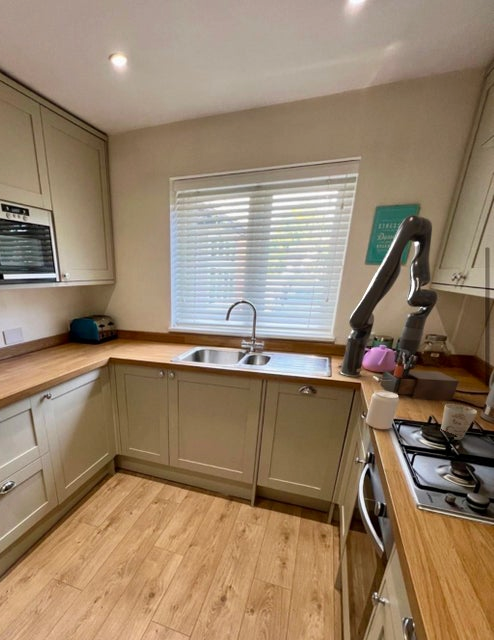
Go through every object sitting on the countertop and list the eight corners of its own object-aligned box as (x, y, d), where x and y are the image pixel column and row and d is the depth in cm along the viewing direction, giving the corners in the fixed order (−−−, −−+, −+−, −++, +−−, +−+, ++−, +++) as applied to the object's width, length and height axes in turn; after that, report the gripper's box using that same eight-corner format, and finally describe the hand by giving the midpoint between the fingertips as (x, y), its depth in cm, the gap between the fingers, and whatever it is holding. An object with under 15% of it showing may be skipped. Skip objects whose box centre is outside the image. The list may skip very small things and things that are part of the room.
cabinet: (413, 398, 145) (418, 378, 141) (397, 387, 157) (403, 369, 154) (452, 400, 143) (459, 380, 140) (433, 389, 156) (439, 371, 152)
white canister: (390, 424, 119) (399, 392, 115) (390, 432, 113) (400, 400, 108) (365, 418, 123) (373, 388, 118) (364, 426, 116) (372, 395, 112)
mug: (433, 435, 112) (443, 408, 108) (440, 424, 120) (449, 398, 116) (464, 444, 106) (475, 416, 103) (470, 432, 114) (480, 405, 111)
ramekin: (391, 374, 151) (393, 363, 150) (403, 374, 151) (406, 364, 149) (397, 377, 146) (399, 367, 144) (410, 378, 146) (413, 367, 144)
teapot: (360, 374, 177) (366, 348, 172) (353, 363, 196) (358, 340, 191) (406, 378, 171) (414, 352, 166) (394, 367, 191) (401, 344, 186)
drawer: (378, 393, 146) (382, 378, 144) (367, 384, 158) (370, 370, 155) (428, 396, 144) (433, 381, 142) (413, 387, 156) (417, 372, 153)
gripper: (430, 341, 135) (418, 380, 141) (411, 335, 148) (401, 371, 155) (410, 340, 136) (399, 379, 142) (393, 334, 149) (384, 370, 155)
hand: (400, 375), depth 148 cm, fingers closed on ramekin, 5 cm apart
